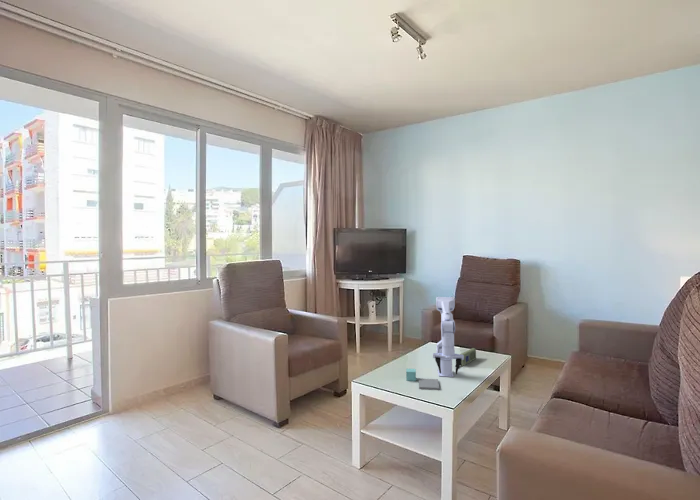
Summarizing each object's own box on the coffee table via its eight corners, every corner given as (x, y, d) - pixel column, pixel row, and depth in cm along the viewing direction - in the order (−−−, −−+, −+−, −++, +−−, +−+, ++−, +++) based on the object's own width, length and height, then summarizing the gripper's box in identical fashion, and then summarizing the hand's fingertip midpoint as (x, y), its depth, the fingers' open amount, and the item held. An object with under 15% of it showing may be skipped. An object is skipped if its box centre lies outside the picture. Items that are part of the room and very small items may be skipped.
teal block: (406, 377, 205) (406, 368, 205) (415, 377, 204) (415, 368, 204) (406, 380, 200) (406, 371, 200) (415, 381, 199) (415, 372, 199)
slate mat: (418, 380, 201) (418, 378, 201) (437, 381, 199) (437, 379, 199) (419, 388, 189) (419, 386, 189) (439, 389, 187) (439, 387, 187)
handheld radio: (477, 359, 236) (458, 369, 218) (472, 358, 239) (453, 368, 220) (476, 348, 237) (458, 357, 218) (471, 347, 239) (453, 356, 220)
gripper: (432, 347, 180) (433, 375, 180) (464, 348, 177) (464, 377, 177) (432, 343, 187) (433, 370, 187) (463, 344, 183) (463, 372, 184)
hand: (448, 373), depth 182 cm, fingers open, 7 cm apart
